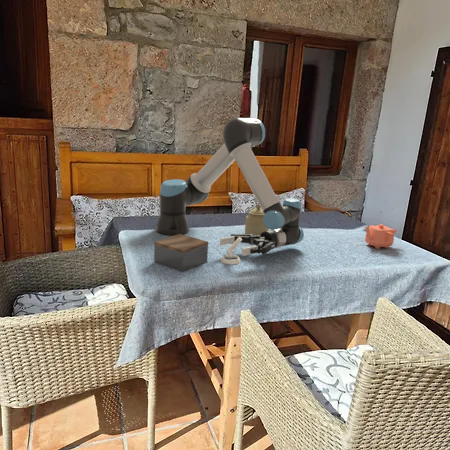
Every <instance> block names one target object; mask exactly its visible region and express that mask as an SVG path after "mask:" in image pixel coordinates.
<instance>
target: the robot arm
mask: <svg viewBox="0 0 450 450" xmlns="http://www.w3.org/2000/svg"><path fill="white" fill-rule="evenodd" d="M222 129H223V130H222V139H223V144H222V145H221V146H220V148H219V149H217V151H216V152H215V153H213V155H212V156H211V157H210V158H209V159H208V161H207V162H206V163H205V164H204V165H203V166H202V168H200V170H199V171H198V172H193V173H192V174H191V175H190V176H189V177H188V178H187V179H186V180H183V179H181V178H179V179H177V178H176V179H175V178H174V179H167V180H165V181H163V182H162V183H160V190H159V195H160V196H159V205H160V206H159V217H158V220H157V223H156V226H155V231H156V233H157V234H161V235H167V236H175V235H178V234H182V235H186V234H188V233H189V231H190V226H189V224H188V221H187V219H188V218H187V217H186V207H187V206H193V205H198V204H201V203H203V202H204V201H206V200H207V199H208V197H209V195H210V193H209V192H211V189H212V187H211V186H213V184H214V183H215V182H216V181H217V180H218V179H219V178H220V176H222V174H224V172H225V171H226V170H227V169H229V168H230V166H231V165H232V164H233V163H234V162H236V163H237V165H238V167H239V169H240V171H241V173H242V174H243V176H244V178H245V181H246V182H247V185H248V187H250V190H251V192H252V194H253V195H254V197H255V200H256V202H257V203H258V204H259V205H260V207H261V208H260V209H261V210H263V212H264V214H265V215H264V217H263V221H264V225H265V226H266V227H267V228H268V229H269V230H268V231H264V232H262V233H261V235H256V236H254V234H245V233H231V234H230V236H227V237H221V238H219V239H220V240H219V245H220V246H225V245H232V244H233V243H234V242H235V241H236V240H237V239H238V238H239V237H240V238H241V239H242V241H241V242H240V244H241V243H243V244H249V245H252V246H247V247H242V248H241V256H243V257H244V256H250V255H253V254H261V255H263V256H264V255H266V254H267V253H268V252H270V251H271V250H274V249H278V248H281V247H286V246H290V245H291V246H292V245H296V244H298V243H301V242H302V241H303V240H304V238H305V237H304V236H305V234H304V229H303V228H302V227H301V226H300V221H301V220H300V219H301V214H302V213H301V211H302V201H301V200H300V199H296V198H285V199H283V202H282V204H281V202H280V201H279V198H278V197H277V195H276V193H275V192H274V189H273V187H272V185H271V184H270V182H269V180H268V178H267V175H266V174H265V172H264V171H263V169H262V166H261V165H260V163H259V160H257V157H256V156H255V154H254V152H253V150H252V149H253V147H256V146H259V145H261V144H262V143H263V141H265V138H266V128H265V126H264V123H263V122H262V121H261V120H260V119H258V118H254V117H234V118H231V119H230V120H228V121H227V122H226V123H225V125H224V127H223V128H222Z"/></svg>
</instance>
